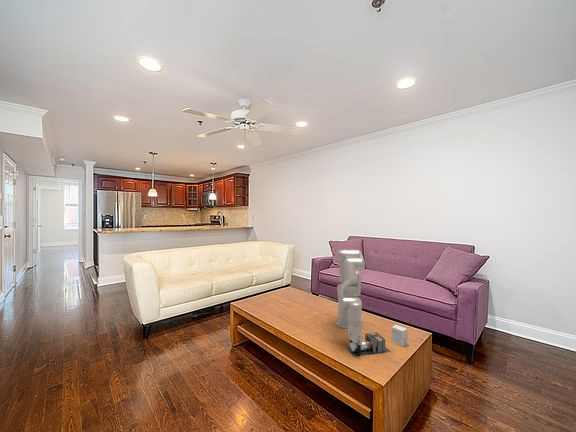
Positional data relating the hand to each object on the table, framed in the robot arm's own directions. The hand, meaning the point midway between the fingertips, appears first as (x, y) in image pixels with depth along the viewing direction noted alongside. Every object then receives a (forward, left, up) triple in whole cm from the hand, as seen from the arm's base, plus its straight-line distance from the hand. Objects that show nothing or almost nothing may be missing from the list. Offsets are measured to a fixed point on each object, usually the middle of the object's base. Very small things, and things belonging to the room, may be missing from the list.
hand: (355, 350), depth 159 cm
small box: (-3, +34, -2) cm, 34 cm away
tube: (0, +7, -1) cm, 7 cm away
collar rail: (0, +9, -1) cm, 9 cm away
